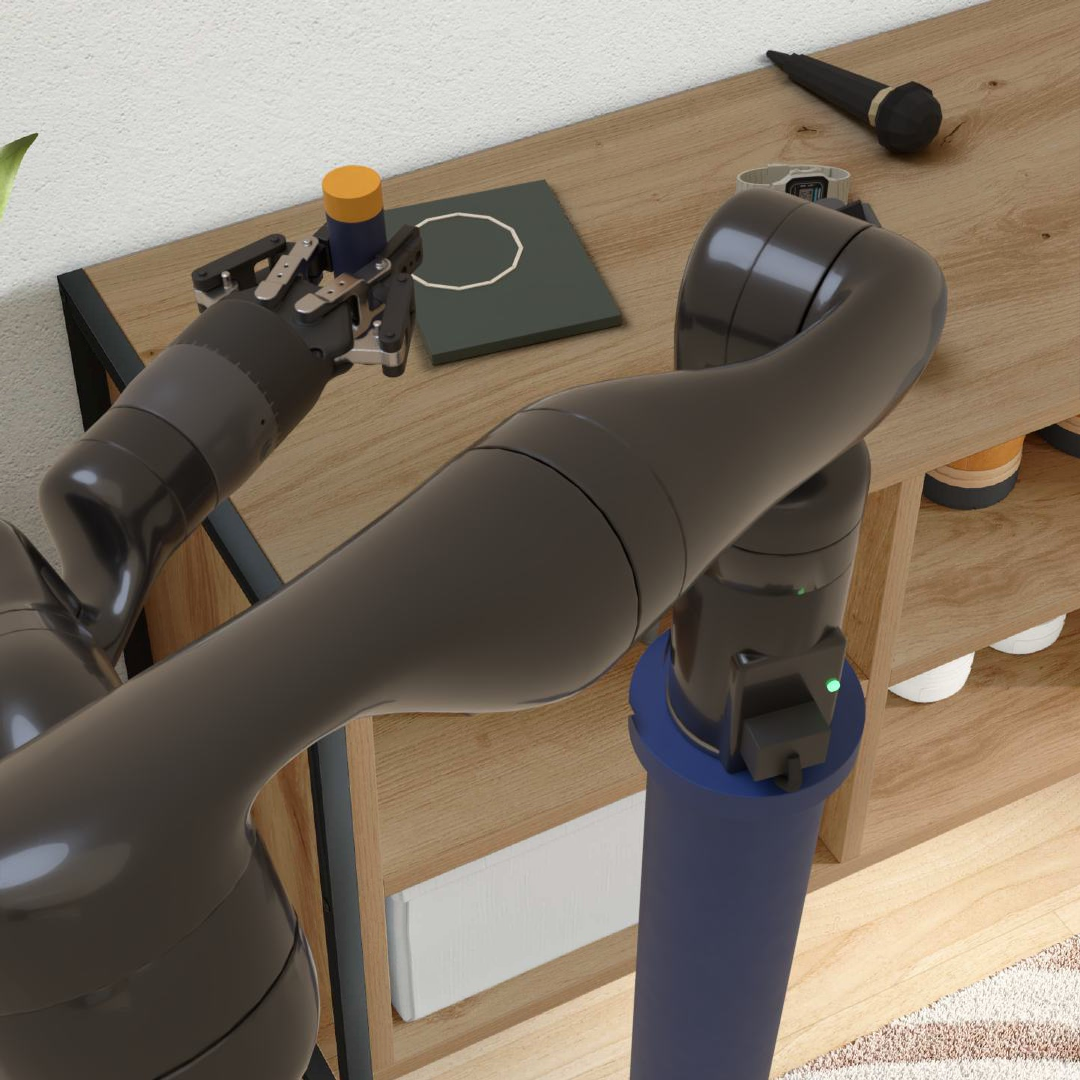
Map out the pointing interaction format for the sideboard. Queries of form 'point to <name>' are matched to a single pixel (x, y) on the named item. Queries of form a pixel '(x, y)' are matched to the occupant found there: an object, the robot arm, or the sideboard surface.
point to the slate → (500, 272)
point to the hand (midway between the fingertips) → (385, 230)
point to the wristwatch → (799, 180)
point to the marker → (354, 220)
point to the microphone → (870, 101)
